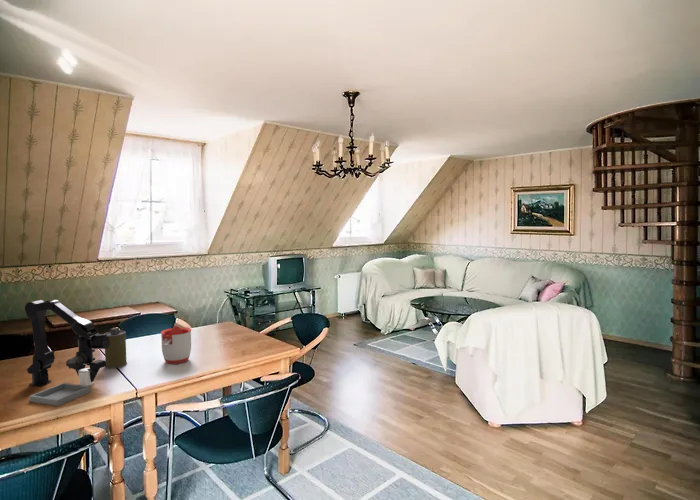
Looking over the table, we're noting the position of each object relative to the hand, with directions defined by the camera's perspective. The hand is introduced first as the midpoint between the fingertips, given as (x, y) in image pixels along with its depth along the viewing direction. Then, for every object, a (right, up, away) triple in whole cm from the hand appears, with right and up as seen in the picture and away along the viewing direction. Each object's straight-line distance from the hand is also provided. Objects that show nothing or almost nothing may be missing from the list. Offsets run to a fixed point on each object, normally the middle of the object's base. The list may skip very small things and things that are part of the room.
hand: (87, 380), depth 208 cm
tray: (-3, -3, -15) cm, 15 cm away
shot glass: (0, -2, 0) cm, 2 cm away
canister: (-1, 0, +28) cm, 28 cm away
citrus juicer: (+29, +1, +33) cm, 44 cm away
